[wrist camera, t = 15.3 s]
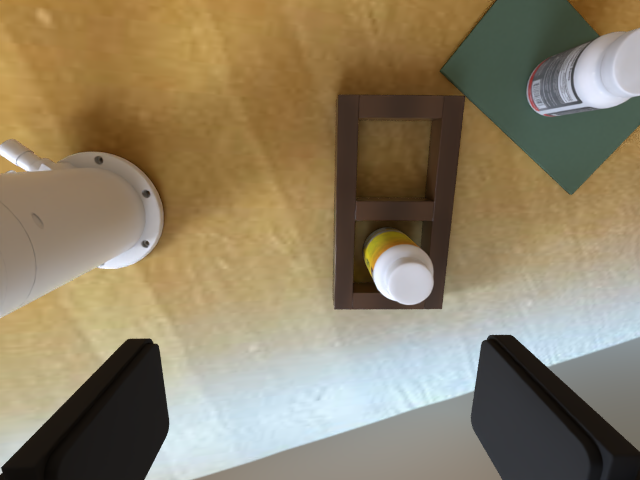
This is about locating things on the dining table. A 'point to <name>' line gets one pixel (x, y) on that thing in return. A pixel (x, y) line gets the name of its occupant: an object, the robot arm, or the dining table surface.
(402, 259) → the supplement bottle
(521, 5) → the mat
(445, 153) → the rack
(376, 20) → the dining table surface
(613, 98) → the pill bottle
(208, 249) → the dining table surface
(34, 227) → the robot arm
